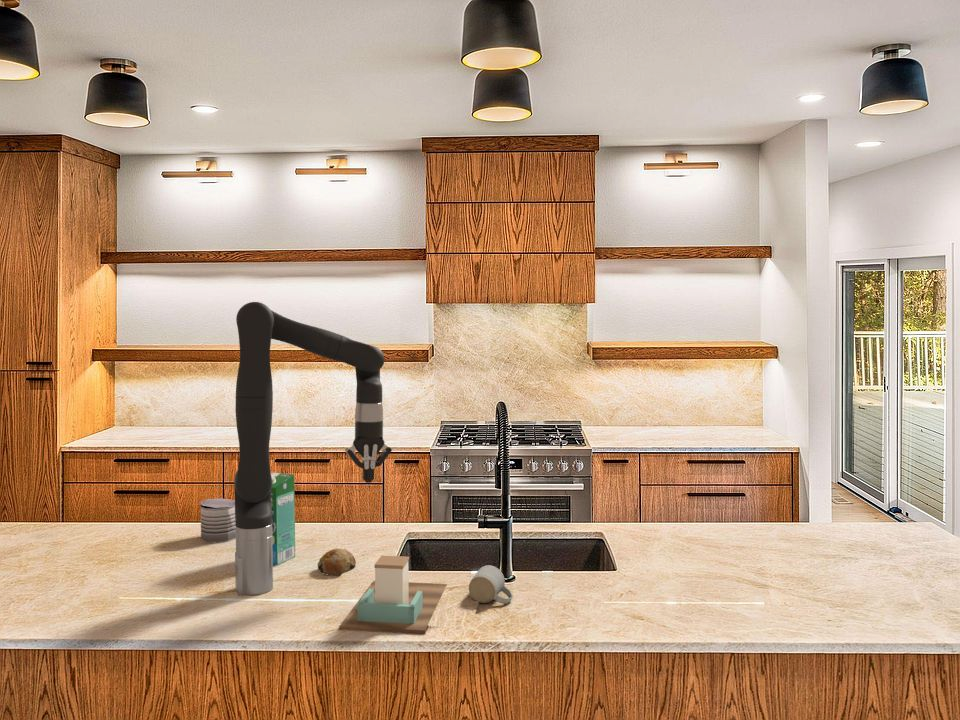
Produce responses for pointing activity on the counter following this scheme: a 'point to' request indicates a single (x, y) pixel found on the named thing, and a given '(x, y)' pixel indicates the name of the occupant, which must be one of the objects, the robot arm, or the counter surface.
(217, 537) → the can
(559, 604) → the counter surface
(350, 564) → the bread roll
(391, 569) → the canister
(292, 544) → the milk carton
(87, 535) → the counter surface
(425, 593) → the board
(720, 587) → the counter surface
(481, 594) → the ceramic mug
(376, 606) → the dock
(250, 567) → the robot arm
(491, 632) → the counter surface
